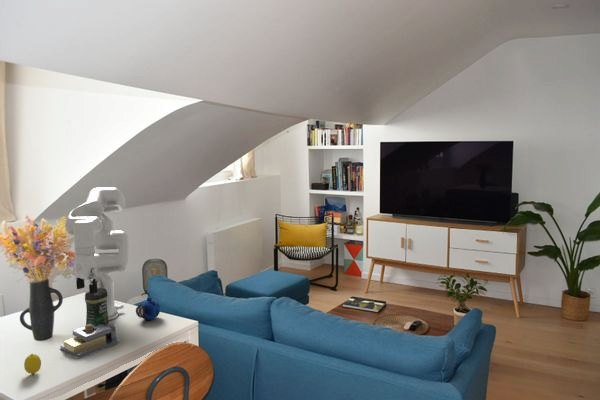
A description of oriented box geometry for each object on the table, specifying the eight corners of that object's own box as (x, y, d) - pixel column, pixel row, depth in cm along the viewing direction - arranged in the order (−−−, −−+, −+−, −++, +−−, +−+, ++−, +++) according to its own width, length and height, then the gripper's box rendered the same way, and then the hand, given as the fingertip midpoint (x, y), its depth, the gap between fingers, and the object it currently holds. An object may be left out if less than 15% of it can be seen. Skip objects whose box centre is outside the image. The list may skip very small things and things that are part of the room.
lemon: (37, 369, 189) (36, 349, 188) (44, 373, 185) (43, 353, 184) (22, 374, 185) (20, 354, 183) (28, 379, 181) (27, 358, 180)
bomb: (132, 320, 237) (131, 290, 234) (151, 314, 245) (150, 284, 243) (145, 325, 231) (144, 294, 229) (164, 318, 240) (163, 288, 238)
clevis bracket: (100, 334, 220) (99, 319, 219) (118, 343, 212) (118, 327, 211) (60, 348, 206) (59, 332, 205) (78, 358, 198) (77, 341, 197)
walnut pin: (91, 343, 211) (90, 323, 210) (95, 345, 209) (94, 325, 208) (84, 346, 209) (83, 325, 208) (88, 348, 207) (87, 327, 206)
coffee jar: (96, 334, 221) (94, 294, 218) (83, 331, 224) (80, 291, 221) (112, 326, 230) (110, 287, 227) (99, 323, 233) (97, 285, 230)
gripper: (64, 249, 205) (67, 288, 208) (87, 255, 195) (89, 297, 198) (82, 245, 211) (84, 284, 214) (105, 252, 201) (107, 292, 204)
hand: (87, 290), depth 206 cm, fingers open, 9 cm apart
